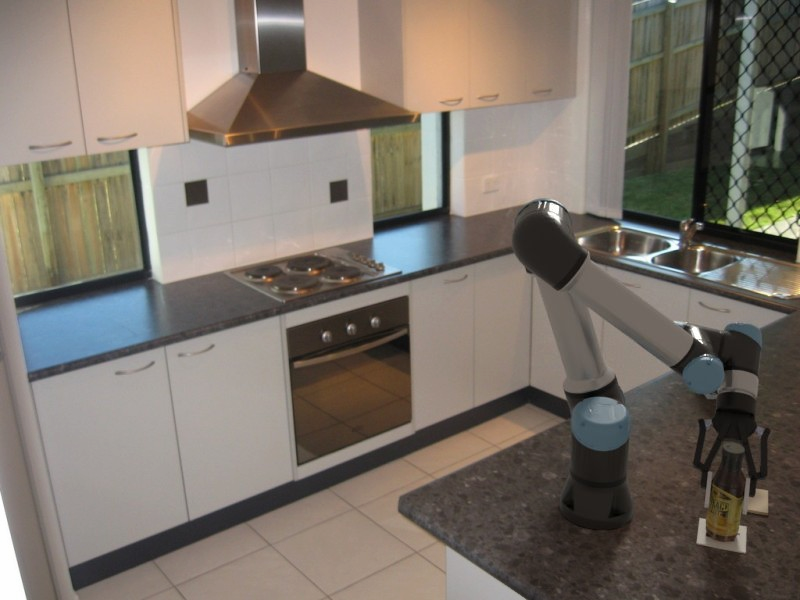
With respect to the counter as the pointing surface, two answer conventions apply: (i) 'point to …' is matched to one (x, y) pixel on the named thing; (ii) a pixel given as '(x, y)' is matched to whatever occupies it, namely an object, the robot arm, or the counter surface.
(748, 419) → the robot arm
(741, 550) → the tile
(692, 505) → the counter surface
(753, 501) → the coaster
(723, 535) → the sauce bottle
